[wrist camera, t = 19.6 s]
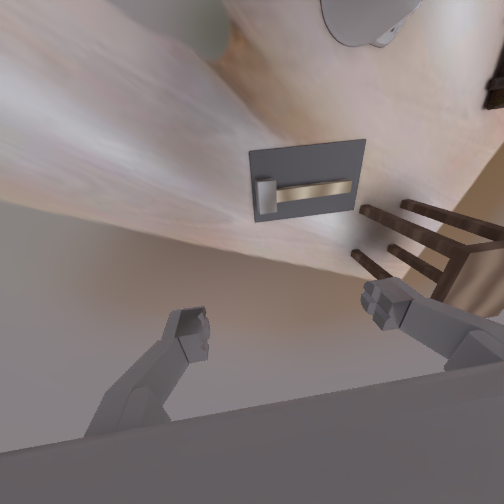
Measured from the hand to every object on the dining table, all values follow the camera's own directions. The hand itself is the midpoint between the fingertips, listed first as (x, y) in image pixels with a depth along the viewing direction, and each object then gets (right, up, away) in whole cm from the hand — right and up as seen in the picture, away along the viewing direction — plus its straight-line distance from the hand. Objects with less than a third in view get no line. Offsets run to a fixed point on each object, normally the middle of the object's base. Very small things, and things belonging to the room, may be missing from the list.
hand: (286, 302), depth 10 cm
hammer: (+12, +16, +33) cm, 39 cm away
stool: (+34, +9, +45) cm, 57 cm away
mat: (+11, +19, +36) cm, 42 cm away
